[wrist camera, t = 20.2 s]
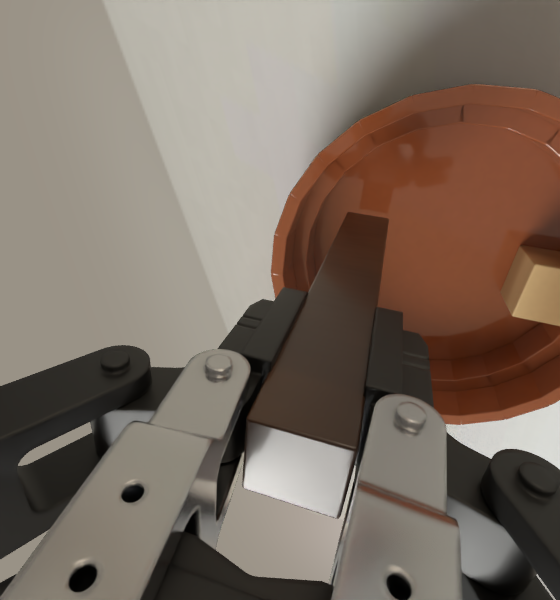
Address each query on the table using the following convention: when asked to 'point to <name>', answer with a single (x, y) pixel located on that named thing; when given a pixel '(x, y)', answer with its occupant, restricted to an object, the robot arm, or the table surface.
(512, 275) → the block
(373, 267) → the stick
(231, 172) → the table surface
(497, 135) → the bowl
